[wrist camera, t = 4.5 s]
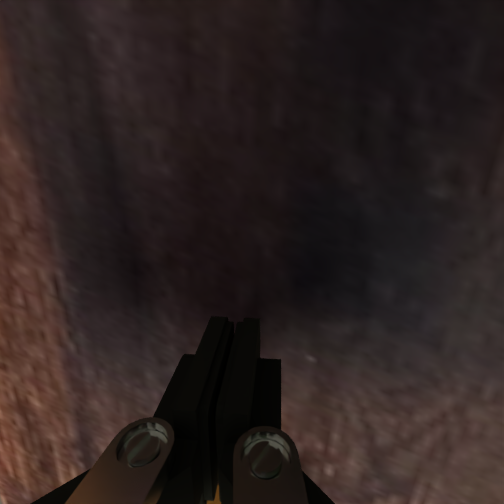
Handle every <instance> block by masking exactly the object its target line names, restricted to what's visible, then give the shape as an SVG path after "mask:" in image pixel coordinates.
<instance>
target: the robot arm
mask: <svg viewBox="0 0 504 504" xmlns="http://www.w3.org/2000/svg"><path fill="white" fill-rule="evenodd" d="M218 481H219V500H220V502H221V504H335V503H334V502H333V501H332V500H331V499H330V498H329V497H328V496H327V495H326V494H325V493H324V492H323V491H322V490H321V489H320V488H319V487H318V486H317V485H316V484H315V483H314V482H313V481H312V480H311V479H310V478H309V477H308V476H307V475H306V474H305V473H304V472H303V471H302V469H301V465H300V460H299V455H298V451H297V449H296V446H295V443H294V442H293V441H292V439H291V438H290V437H289V435H287V434H286V433H285V432H283V431H282V430H281V359H264V358H260V319H256V318H244V320H243V322H238V323H237V326H236V330H235V334H234V323H233V322H228V318H227V317H211V318H210V320H209V323H208V325H207V328H206V330H205V332H204V335H203V337H202V339H201V342H200V344H199V347H198V349H197V351H196V354H195V355H193V354H184V355H183V356H182V358H181V360H180V362H179V364H178V366H177V368H176V370H175V372H174V374H173V376H172V378H171V381H170V383H169V385H168V387H167V389H166V391H165V393H164V395H163V397H162V399H161V401H160V403H159V406H158V408H157V410H156V412H155V414H154V416H153V417H149V418H143V419H139V420H137V421H135V422H132V423H130V424H129V425H127V426H126V427H125V428H123V429H122V430H121V431H120V432H119V433H118V434H117V435H116V436H115V438H114V439H113V440H112V442H111V443H110V444H109V446H108V447H107V448H106V449H105V451H104V452H103V453H102V455H101V456H100V457H99V459H98V460H97V461H96V463H95V464H94V465H93V467H92V468H91V469H89V470H87V471H86V472H84V473H82V474H81V475H79V476H77V477H75V478H74V479H72V480H70V481H69V482H67V483H65V484H63V485H62V486H60V487H58V488H57V489H55V490H53V491H52V492H50V493H48V494H46V495H45V496H43V497H41V498H40V499H38V500H36V501H34V502H33V503H31V504H207V501H214V499H215V495H216V490H217V485H218Z"/></svg>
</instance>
